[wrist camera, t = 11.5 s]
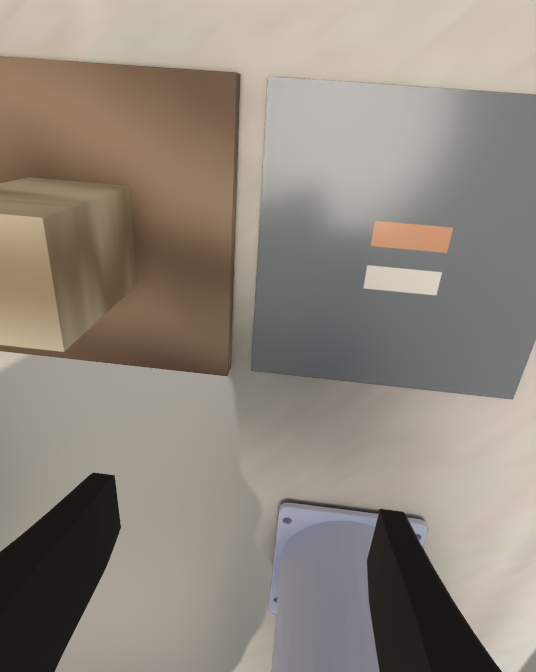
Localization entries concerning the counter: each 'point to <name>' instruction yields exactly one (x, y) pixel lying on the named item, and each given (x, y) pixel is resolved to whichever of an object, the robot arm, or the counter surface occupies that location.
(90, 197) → the maple block
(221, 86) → the board
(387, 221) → the tile
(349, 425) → the counter surface
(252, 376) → the counter surface
